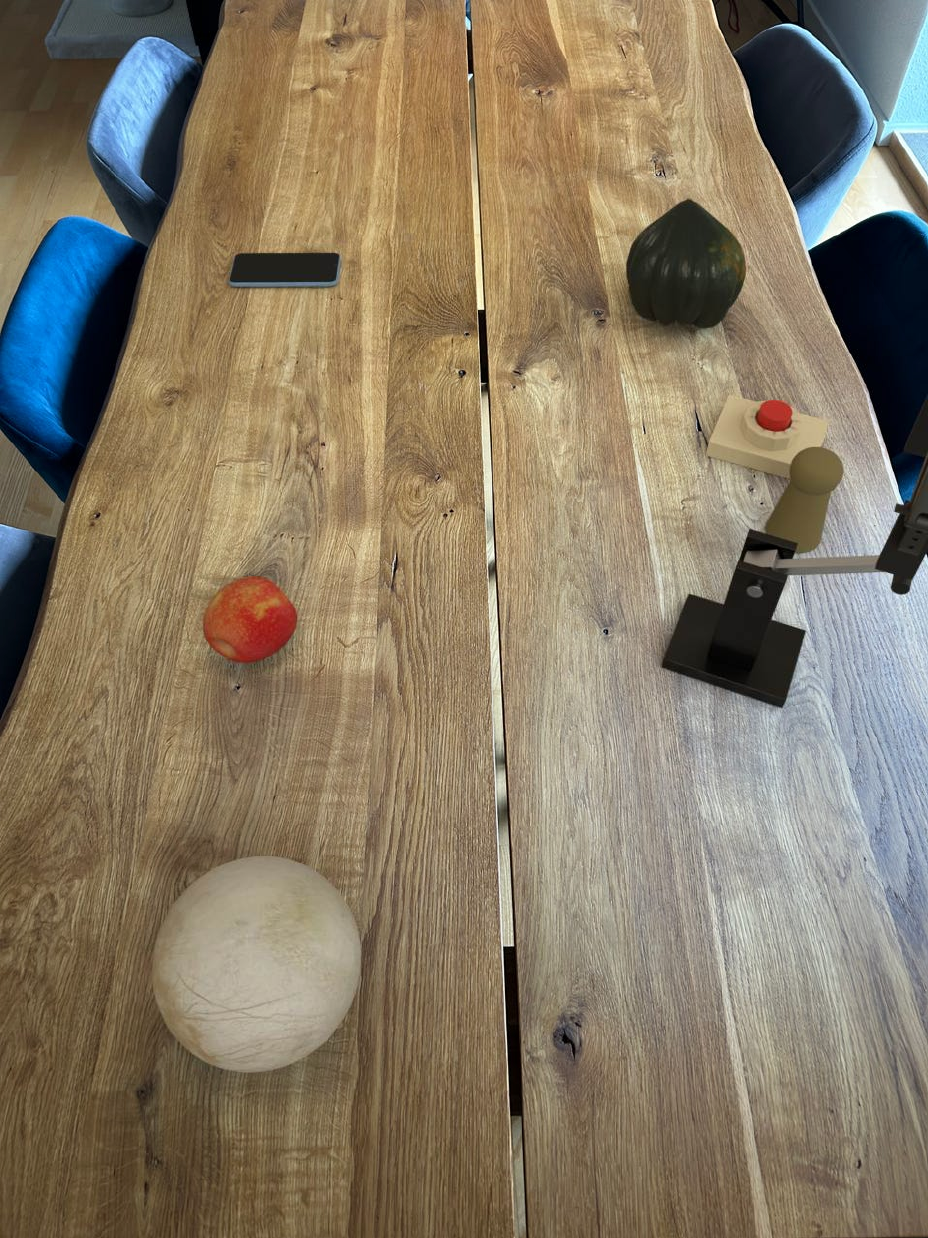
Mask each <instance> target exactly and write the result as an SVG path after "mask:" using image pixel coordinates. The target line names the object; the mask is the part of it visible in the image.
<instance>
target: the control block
mask: <svg viewBox="0 0 928 1238" xmlns="http://www.w3.org/2000/svg"><path fill="white" fill-rule="evenodd" d="M765 401H766V400H758V401H755V400H752V399H748V398H743V397H740V396H736V395H732V394H727V397H726V400H725V402H724V404H723V406H722V410H721V411H720V414H719V417H718V419H717V421H716V424H715V426H714V428H713V431H712V433H711V436H710V438H709V440H708V444H707V447H706V451H705V456H706V457H710V458H713V459H716V460H720V461H724V462H728V463H731V464H735V465H738V466H742V467H745V468H748V469H752V470H756V471H759V472H763V473H766V474H770V475H774V476H777V477H781V478H784V479H788V480H791V479H790V466H791V463H792V460H793V458H794V457H795V456H796V455H797V454H798V453H799V452H800V451H802V450H804V449H806V448H809V447H822V446H823V443H824V440H825V437H826V434H827V430H828V429H829V424H830V420H827V419H823V418H819V417H815V416H812V415H808V414H804V413H801V412H799V411H798V410H797V409H795V408H793V406H791V405H789V406H790V407H791V409H792V417H791V420H790V423H789V426H788V427H787V428H786V429H785V430H784V431H780V432H773V431H769V430H765V429H763V428H762V427H761V426H759V424H758V422H757V417H758V413H759V410H760V406H761V405H762V403H764V402H765Z"/></svg>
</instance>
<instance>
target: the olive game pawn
mask: <svg viewBox="0 0 928 1238" xmlns="http://www.w3.org/2000/svg"><path fill="white" fill-rule="evenodd" d="M843 476H844V464H843V461H842V460H841V458H840V456H839V455H838V454H837V453H835V452H834V451H832V450H831V449H828V448H825V447H822V446H821V447H809V448H806V449H804V450H802V451H800V452H799V453H798V454H797V455H796V456H795V457H794V458H793V460H792V463H791V466H790V479H789V480H788V481H789V482H788V484H787V485H786V487H785V488H784V490H783V492H782V493H781V496H780V498H779V499H778V501H777V503H776V505H775V506H774V508H773V509H772V512H771V513H770V515H769V516H768V519H767V521H766V523H765V526H764V530H765V533H766V534H769V535H773V536H776V537H779V538H783V539H786V540H789V541H793V542H796V543H798V546H797V549H796V552H795V554H804V553H805V554H806V553H809V552H812V551H813V550H816V549H817V547H818V546H819V545H820V544H821V541H822V536H823V532H824V528H825V522H826V517H827V514H828V508H829V503H830V498H831V494H832V492H833V491H834V490H835V489H836V488H838V486H839V484H841V481H842V479H843Z"/></svg>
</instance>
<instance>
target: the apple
mask: <svg viewBox="0 0 928 1238" xmlns="http://www.w3.org/2000/svg"><path fill="white" fill-rule="evenodd" d="M297 624H298V613H297V609H296V607H295V606H294V604H293V602H292V601H291V600H290V599H289V597H288V596H287V595H286V593H285V592H284V591H283V590H282V589H281V588H280V587H279V586H278V585H277V584H276V583H274V581H272V580H270V579H268V578H265V577H263V576H256V575H249V576H243V577H240V578H237V579H235V580H233V581H231V582H229V583H228V584H226V585H224V586H223V587H222V588H221V589H219V590H218V591H217V592H216V593H215V595H214V596H213V597H212V598H211V600H210V601H209V603H208V605H207V607H206V608H205V612H204V615H203V619H202V632H203V636H204V639H205V641H206V643H207V644H208V645H209V646H210V647H211V648H212V649H213V650H214V651H215V652H216V653H218V654H219V655H221V656H223V657H224V658H226V659H228V660H230V661H233V662H236V663H241V664H249V663H255V662H259V661H263V660H265V659H267V658H270V657H271V656H273V655H274V654H276V653H277V652H279V651H280V650H281V649H282V648H283V647H285V645H287V644H288V642H289V641H290V639H291V638H292V636H293V634H294V632H295V630H296V628H297Z"/></svg>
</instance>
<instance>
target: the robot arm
mask: <svg viewBox="0 0 928 1238" xmlns="http://www.w3.org/2000/svg"><path fill="white" fill-rule="evenodd" d="M902 452H903V453H907V454H909V455H910V454H911V455H914V456H919V457H922V458H924V461H923V464H922V466H921V468H920V472H919V475H918V477H917V480H916V483H915V486H914V488H913V490H912V493H911V496H910V499H909V500H907V499H905V501H904V503H903V504H901V503H898V502H896V503H895V506H894V510H893V513H896V514H898V516H897V517H896V520H895V522H894V524H893V526H892V528H891V529H890V533H889V534H888V536H887V539H886V540H885V543H884V545H883V546H882V549H881V551H880V553H879V555H880V556H879V558H878V560H877V562H876V566H875V569H876V570H880V571H883V572H882V573H887V574H890V575H897V576H900V577H904V578H907V579H911V580H912V581H913V580H914V578H915V576H916V575H917V572H918V571H919V568H920V567H921V564H922V563H923V561H924V559H925V557H926V555H927V554H928V394H927V395H926V397H925V400H924V402H923V404H922V406H921V409H920V411H919V413H918V415H917V418H916V420H915V422H914V424H913V427H912V429H911V431H910V433H909V435H908V438H907V440H906V442H905V444H904V447H903V451H902Z"/></svg>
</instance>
